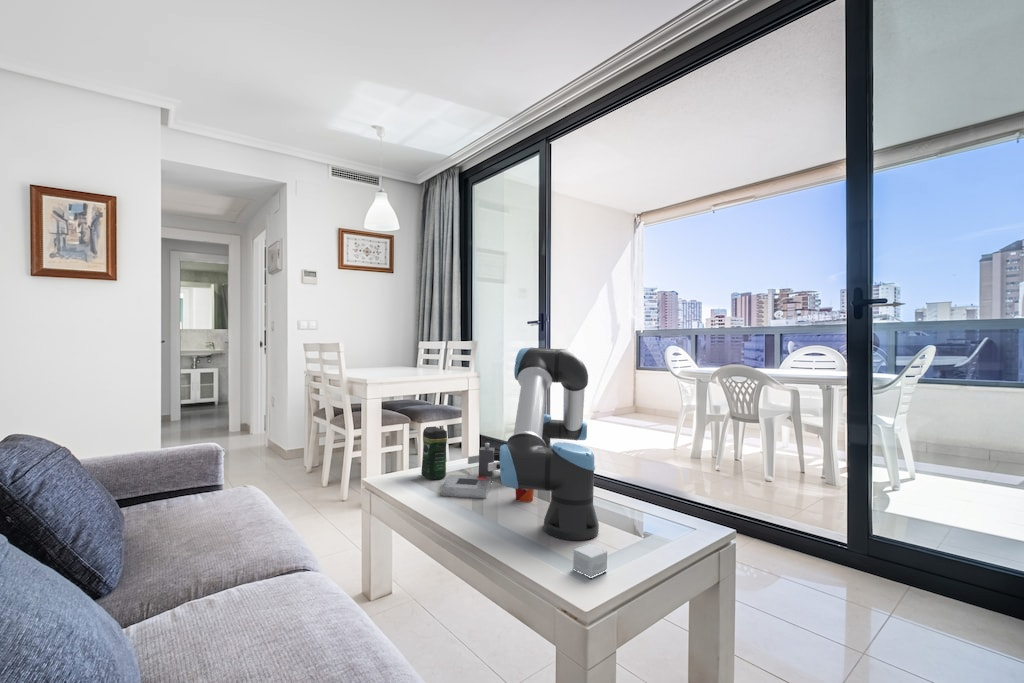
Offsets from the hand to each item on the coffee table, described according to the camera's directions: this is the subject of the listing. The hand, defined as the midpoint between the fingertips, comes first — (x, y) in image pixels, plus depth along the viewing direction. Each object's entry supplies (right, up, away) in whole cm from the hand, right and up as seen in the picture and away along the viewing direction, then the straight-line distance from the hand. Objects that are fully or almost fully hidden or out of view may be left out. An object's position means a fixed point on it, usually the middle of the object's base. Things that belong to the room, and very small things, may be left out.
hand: (478, 463), depth 176 cm
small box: (+30, -8, -66) cm, 73 cm away
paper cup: (+16, -8, -16) cm, 24 cm away
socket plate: (-3, -7, -9) cm, 12 cm away
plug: (+3, -7, +3) cm, 8 cm away
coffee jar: (-17, -7, +6) cm, 19 cm away
